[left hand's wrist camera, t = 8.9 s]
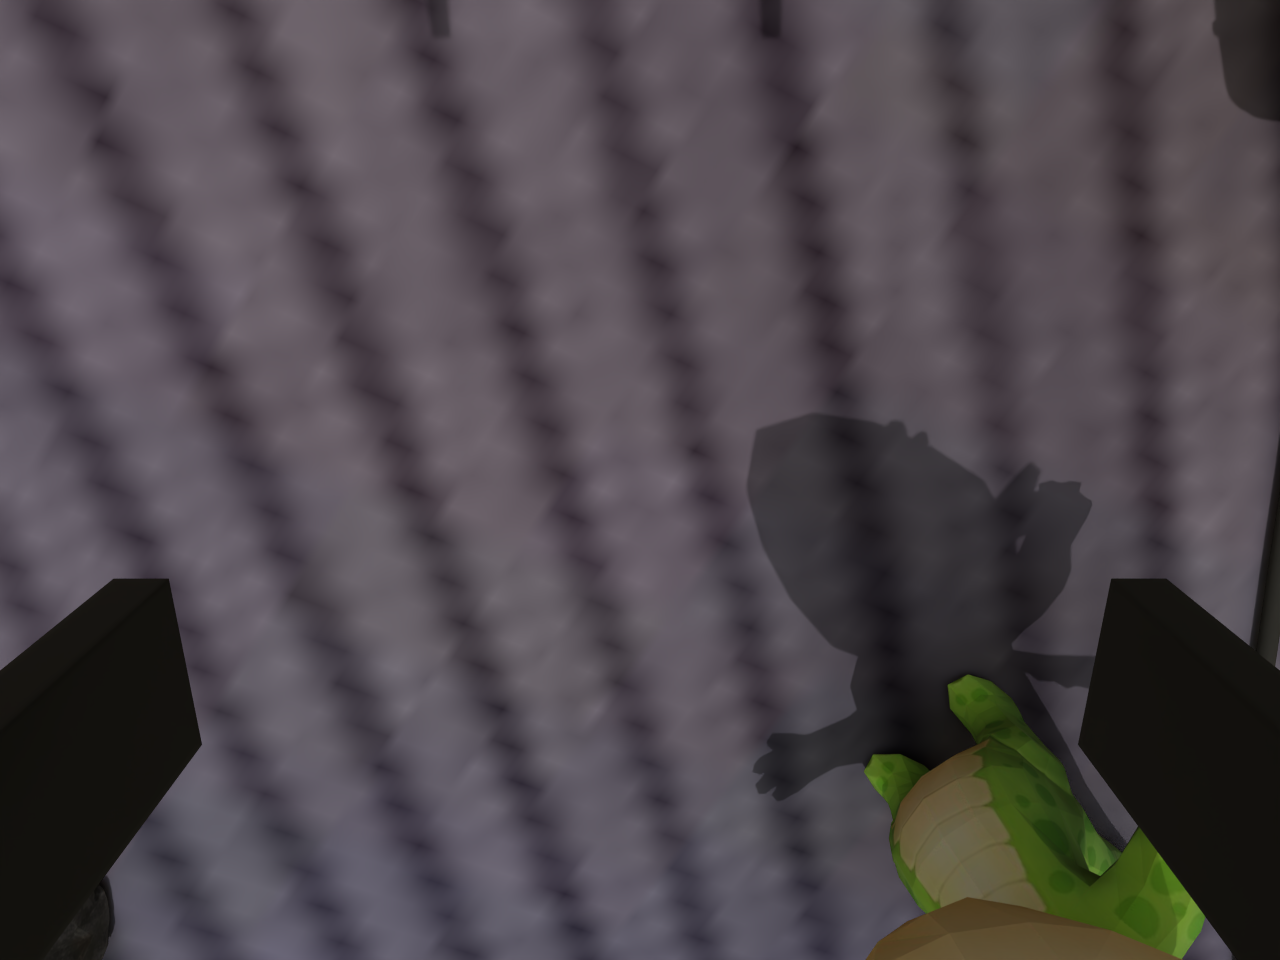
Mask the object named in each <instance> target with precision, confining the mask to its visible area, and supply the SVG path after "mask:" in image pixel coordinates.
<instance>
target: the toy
mask: <svg viewBox="0 0 1280 960" xmlns="http://www.w3.org/2000/svg"><path fill="white" fill-rule="evenodd" d="M948 693H949V703H950V709H951V710H952V711H953V712H954V714H955V715H956V716H957V717H958V718H959V720H960V721H961V722H962V723H963V724H964V726H965V727H966V728H967V729H968V730H969V732H970V733H971V734H972V736H973V738H974V740H975V742H976V744H977V745H975V746H973V747H971V748H969V749H967V750H965V751H962V752H960V753H958V754H956V755H954V756H953V757H951V758H949V759H948V760H946V761H945V762H943V763H942V764H940V765H939V766H937V767H936V768H934V769H932V770H931V771H930V770H929V769H928V768H926V767H925V766H924V765H922V764H920V763H918V762H916V761H914V760H912V759H909V758H907V757H905V756H903V755H901V754H873V756H872V757H871V759H870V761H869V763H868V765H867V767H866V768H865V770H864V772H865V774H866V776H867V777H868V779H869V780H870V782H871V784H872V785H873V787H874V788H875V790H876V791H877V792H878V793H879V794H880V795H881V796H882V797H883V798H884V799H885V800H886V801H887V803H888V804H889V807H890V810H891V813H892V818H893V821H892V823H891V828H890V835H889V842H890V847H891V852H892V857H893V861H894V863H895V865H896V868H897V872H898V875H899V878H900V879H901V881H902V882H903V884H904V885H905V887H906V888H907V890H908V891H909V893H910V894H911V896H912V897H913V899H914V900H915V902H916V903H917V905H918V906H919V907H920V908H921V909H922V910H923V911H924V912H925V913H926V914H924V915H922V916H919V917H917V918H914V919H912V920H910V921H907V922H906V923H904V924H903V925H901V926H900V927H899V928H897V929H896V930H894V931H893V932H891V933H890V934H889V935H887V936H886V937H884V938H883V939H882V940H880V941H879V942H878V943H877V944H876V946H875V947H874V948H873V950H872V951H871V953H870V954H869V956H868V957H867V959H866V960H1183V959H1182V958H1183V956H1184V955H1185V953H1186V952H1187V950H1188V949H1189V947H1190V946H1191V945H1192V943H1193V942H1194V940H1195V939H1196V937H1197V936H1198V934H1199V933H1200V931H1201V929H1202V926H1203V923H1204V919H1205V916H1204V914H1203V913H1202V911H1201V910H1200V909H1199V907H1198V906H1197V905H1196V903H1195V902H1194V901H1193V899H1192V898H1191V897H1190V895H1189V894H1188V893H1187V891H1186V890H1185V888H1184V887H1183V886H1182V884H1181V883H1180V882H1179V880H1178V879H1177V878H1176V876H1175V875H1174V874H1173V872H1172V871H1171V870H1170V868H1169V867H1168V865H1167V864H1166V863H1165V861H1164V860H1163V859H1162V857H1161V856H1160V855H1159V853H1158V852H1157V851H1156V849H1155V848H1154V847H1153V845H1152V844H1151V843H1150V841H1149V840H1148V838H1147V837H1146V836H1145V834H1144V833H1143V832H1142V830H1141V829H1140V828H1139V826H1138V827H1137V829H1136V831H1135V832H1134V834H1133V836H1132V837H1131V839H1130V841H1129V842H1128V844H1127V846H1126V847H1125V849H1124V851H1123V852H1121V851H1120V850H1118V849H1117V848H1116V847H1114V846H1113V845H1112V844H1111V843H1109V842H1108V841H1107V840H1105V839H1104V838H1102V837H1101V836H1100V835H1098V834H1097V832H1096V831H1095V829H1094V827H1093V825H1092V824H1091V822H1090V820H1089V818H1088V817H1087V815H1086V813H1085V811H1084V809H1083V808H1082V806H1081V805H1080V804H1079V802H1078V801H1077V800H1076V799H1075V797H1074V796H1073V795H1072V792H1071V788H1070V785H1069V782H1068V779H1067V775H1066V772H1065V769H1064V766H1063V765H1062V763H1061V761H1060V760H1059V759H1058V758H1057V757H1056V756H1055V755H1054V754H1053V753H1052V752H1051V751H1050V750H1049V749H1048V748H1047V747H1046V746H1045V745H1044V744H1043V743H1042V742H1041V741H1040V740H1039V738H1038V737H1037V736H1036V735H1035V734H1034V733H1033V731H1032V730H1031V729H1030V728H1029V727H1028V726H1027V724H1026V723H1025V722H1024V720H1023V718H1022V716H1021V714H1020V712H1019V710H1018V708H1017V706H1016V705H1015V703H1014V702H1013V700H1012V699H1011V697H1009V696H1008V695H1007V694H1006V693H1005V692H1003V691H1002V690H1001V689H1000V688H998V687H997V686H996V685H995V684H994V683H992V682H991V681H988V680H985V679H982V678H978V677H975V676H972V675H966V676H964V677H962V678H960V679H958V680H956V681H954V682H952V683H950V684H948Z"/></svg>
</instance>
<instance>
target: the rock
mask: <svg viewBox="0 0 1280 960" xmlns="http://www.w3.org/2000/svg"><path fill="white" fill-rule="evenodd" d="M109 920H110V919H109V906H108V900H107V897H106V894H105V891H104V888H102V887H101V886H100V885H99V884H98V886H97V887H96V888H95V890H94V891H93V893H92V894H91V895H90V897H89V898H88V899H87V901H86V902H85V903H84V905H83V906H82V907H81V909H80V910H79V911H78V913H77V914H76V916H75V917H74V918H73V920H72V921H71V922H70V924H69V925H68V926H67V928H66V929H65V930H64V932H63V933H62V934H61V936H60V937H59V938H58V940H57V941H56V943H55V944H54V945H53V947H52V948H51V949H50V951H49V952H48V953H47V955H46V956H45V957H44V959H43V960H102V958H103V956H104V953H105V951H106V948H107V946H108V935H109V930H108V927H109Z"/></svg>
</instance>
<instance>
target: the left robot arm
mask: <svg viewBox="0 0 1280 960" xmlns="http://www.w3.org/2000/svg"><path fill="white" fill-rule="evenodd" d="M1279 637H1280V494H1279V501H1278V507H1277V514H1276V520H1275V527H1274V533H1273V540H1272V546H1271V553H1270V560H1269V566H1268V573H1267V580H1266V587H1265V594H1264V601H1263V608H1262V615H1261V622H1260V629H1259V636H1258V643H1257V650H1256V651H1255V650H1254V649H1252V648H1251V647H1250V646H1249V645H1248V644H1246V643H1245V642H1244V641H1243V640H1241V639H1240V638H1239V637H1238V636H1236V635H1235V634H1234V633H1233V632H1231V631H1230V630H1229V629H1228V628H1227V627H1225V626H1224V625H1223V624H1222V623H1220V622H1219V621H1218V620H1217V619H1215V618H1214V617H1213V616H1212V615H1210V614H1209V613H1208V612H1207V611H1206V610H1204V609H1203V608H1202V607H1201V606H1199V605H1198V604H1197V603H1196V602H1194V601H1193V600H1192V599H1191V598H1190V597H1188V596H1187V595H1186V594H1185V593H1183V592H1182V591H1181V590H1180V589H1178V588H1177V587H1176V586H1175V585H1173V584H1172V583H1171V582H1170V581H1169V580H1167V579H1111V583H1110V588H1109V593H1108V598H1107V603H1106V608H1105V613H1104V618H1103V623H1102V628H1101V633H1100V638H1099V643H1098V648H1097V653H1096V658H1095V663H1094V668H1093V673H1092V678H1091V683H1090V688H1089V693H1088V698H1087V703H1086V708H1085V713H1084V718H1083V723H1082V728H1081V733H1080V738H1079V743H1078V745H1079V747H1080V748H1081V749H1082V751H1083V752H1084V753H1085V755H1086V756H1087V757H1088V759H1089V760H1090V761H1091V763H1092V764H1093V765H1094V767H1095V768H1096V770H1097V771H1098V772H1099V774H1100V775H1101V776H1102V778H1103V779H1104V780H1105V782H1106V783H1107V784H1108V786H1109V787H1110V788H1111V790H1112V791H1113V792H1114V794H1115V795H1116V797H1117V798H1118V799H1119V801H1120V802H1121V803H1122V805H1123V806H1124V807H1125V809H1126V810H1127V811H1128V813H1129V814H1130V815H1131V817H1132V818H1133V820H1134V821H1135V822H1136V824H1137V825H1138V826H1139V828H1140V829H1141V830H1142V832H1143V833H1144V834H1145V836H1146V837H1147V838H1148V840H1149V841H1150V843H1151V844H1152V845H1153V847H1154V848H1155V849H1156V851H1157V852H1158V853H1159V855H1160V856H1161V857H1162V859H1163V860H1164V861H1165V863H1166V864H1167V865H1168V867H1169V868H1170V870H1171V871H1172V872H1173V874H1174V875H1175V876H1176V878H1177V879H1178V880H1179V882H1180V883H1181V884H1182V886H1183V887H1184V888H1185V890H1186V891H1187V893H1188V894H1189V895H1190V897H1191V898H1192V899H1193V901H1194V902H1195V903H1196V905H1197V906H1198V907H1199V909H1200V910H1201V911H1202V913H1203V914H1204V916H1205V917H1206V918H1207V920H1208V921H1209V922H1210V924H1211V925H1212V926H1213V928H1214V929H1215V930H1216V932H1217V933H1218V934H1219V936H1220V937H1221V938H1222V940H1223V941H1224V943H1225V944H1226V945H1227V947H1228V948H1229V949H1230V951H1231V952H1232V953H1233V955H1234V956H1235V957H1236V959H1237V960H1280V670H1278V669H1277V668H1276V667H1275V663H1276V657H1277V650H1278V643H1279ZM201 745H202V743H201V738H200V733H199V728H198V723H197V718H196V713H195V708H194V703H193V698H192V693H191V688H190V683H189V678H188V673H187V668H186V663H185V658H184V653H183V648H182V643H181V638H180V633H179V628H178V623H177V618H176V613H175V608H174V603H173V598H172V593H171V588H170V583H169V579H113V580H111V581H110V582H109V583H108V584H107V585H105V586H104V587H103V588H102V589H100V590H99V591H98V592H97V593H95V594H94V595H93V596H92V597H90V598H89V599H88V600H87V601H86V602H84V603H83V604H82V605H81V606H79V607H78V608H77V609H76V610H74V611H73V612H72V613H71V614H70V615H68V616H67V617H66V618H65V619H63V620H62V621H61V622H60V623H58V624H57V625H56V626H55V627H53V628H52V629H51V630H50V631H49V632H47V633H46V634H45V635H44V636H42V637H41V638H40V639H39V640H37V641H36V642H35V643H34V644H32V645H31V646H30V647H29V648H28V649H26V650H25V651H24V652H23V653H21V654H20V655H19V656H18V657H16V658H15V659H14V660H13V661H11V662H10V663H9V664H8V665H7V666H5V667H4V668H3V669H2V670H0V960H43V959H44V957H45V956H46V955H47V953H48V952H49V951H50V949H51V948H52V947H53V945H54V944H55V943H56V941H57V940H58V938H59V937H60V936H61V934H62V933H63V932H64V930H65V929H66V928H67V926H68V925H69V924H70V922H71V921H72V920H73V918H74V917H75V916H76V914H77V913H78V911H79V910H80V909H81V907H82V906H83V905H84V903H85V902H86V901H87V899H88V898H89V897H90V895H91V894H92V893H93V891H94V890H95V888H96V887H97V886H98V884H99V883H100V882H101V880H102V879H103V878H104V876H105V875H106V874H107V872H108V871H109V870H110V868H111V867H112V865H113V864H114V863H115V861H116V860H117V859H118V857H119V856H120V855H121V853H122V852H123V851H124V849H125V848H126V847H127V845H128V844H129V843H130V841H131V840H132V838H133V837H134V836H135V834H136V833H137V832H138V830H139V829H140V828H141V826H142V825H143V824H144V822H145V821H146V820H147V818H148V817H149V815H150V814H151V813H152V811H153V810H154V809H155V807H156V806H157V805H158V803H159V802H160V801H161V799H162V798H163V797H164V795H165V794H166V792H167V791H168V790H169V788H170V787H171V786H172V784H173V783H174V782H175V780H176V779H177V778H178V776H179V775H180V774H181V772H182V771H183V770H184V768H185V767H186V765H187V764H188V763H189V761H190V760H191V759H192V757H193V756H194V755H195V753H196V752H197V751H198V749H199V748H200V747H201Z"/></svg>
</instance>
